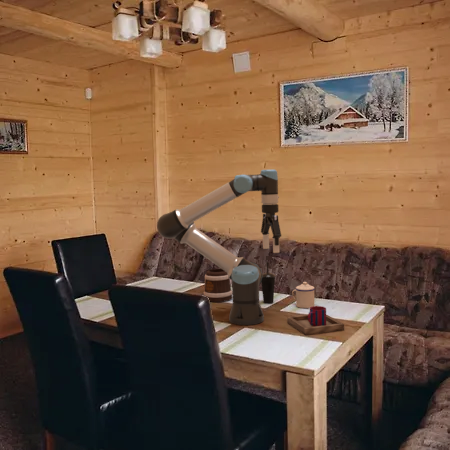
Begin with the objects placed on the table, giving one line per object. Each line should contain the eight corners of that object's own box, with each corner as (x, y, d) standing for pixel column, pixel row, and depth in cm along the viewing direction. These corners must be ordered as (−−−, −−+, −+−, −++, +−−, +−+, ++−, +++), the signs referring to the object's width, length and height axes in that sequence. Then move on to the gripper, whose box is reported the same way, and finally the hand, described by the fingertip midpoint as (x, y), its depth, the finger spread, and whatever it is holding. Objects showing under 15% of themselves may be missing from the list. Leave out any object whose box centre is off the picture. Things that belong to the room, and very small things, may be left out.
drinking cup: (278, 301, 249) (278, 261, 247) (271, 305, 242) (270, 264, 241) (265, 299, 253) (264, 260, 251) (258, 303, 247) (257, 263, 245)
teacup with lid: (318, 305, 239) (318, 281, 238) (307, 309, 232) (307, 285, 231) (297, 301, 247) (297, 278, 246) (287, 305, 241) (286, 281, 240)
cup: (329, 324, 206) (329, 308, 206) (313, 329, 200) (313, 312, 199) (317, 320, 211) (316, 305, 211) (301, 325, 205) (300, 309, 205)
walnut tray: (305, 335, 196) (305, 329, 195) (287, 322, 213) (287, 316, 213) (344, 330, 200) (344, 324, 200) (323, 318, 218) (323, 312, 217)
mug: (238, 299, 256) (237, 270, 254) (213, 304, 247) (212, 274, 246) (217, 292, 272) (217, 265, 271) (193, 296, 264) (192, 269, 263)
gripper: (288, 204, 214) (289, 253, 216) (268, 202, 238) (269, 246, 240) (271, 205, 212) (272, 255, 214) (253, 203, 236) (254, 247, 238)
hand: (271, 250), depth 227 cm, fingers open, 13 cm apart
